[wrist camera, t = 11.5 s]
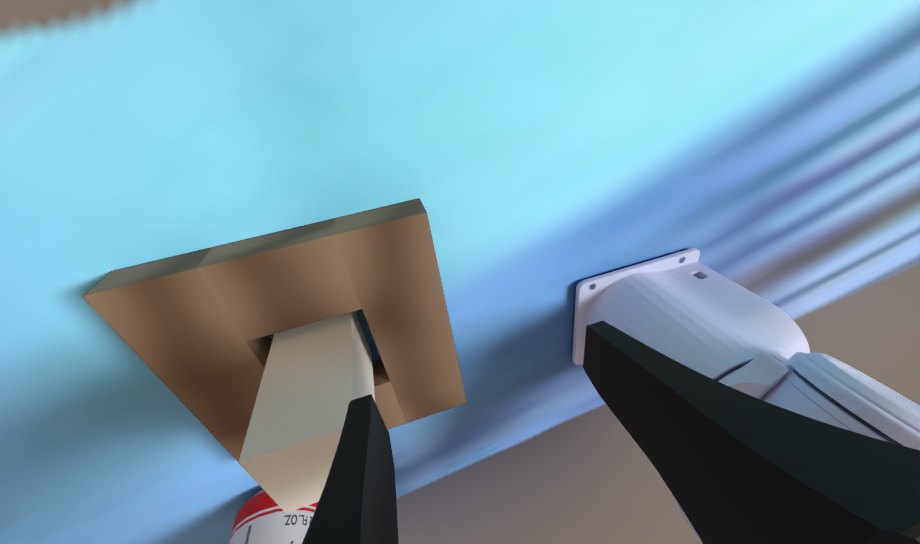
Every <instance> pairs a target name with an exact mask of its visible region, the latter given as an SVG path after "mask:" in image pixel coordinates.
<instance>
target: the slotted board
mask: <svg viewBox="0 0 920 544" xmlns="http://www.w3.org/2000/svg"><path fill="white" fill-rule="evenodd" d="M82 297H83V298H84V299H85V300H86V301H87V302H88V303H89V304H90V305H91V306H92V307H93V308H94V309H95V310H96V311H97V313H98V314H99V315H100V316H101V317H102V318H103V319H104V320H105V321H106V322H107V323H108V324H109V325H110V326H111V327H112V328H113V330H114V331H115V332H116V333H117V334H118V335H119V336H120V337H121V338H122V339H123V340H124V341H125V342H126V343H127V344H128V345H129V346H130V348H131V349H132V350H133V351H134V352H135V353H136V354H137V355H138V356H139V357H140V358H141V359H142V360H143V361H144V362H145V363H146V365H147V366H148V367H149V368H150V369H151V370H152V371H153V372H154V373H155V374H156V375H157V376H158V377H159V378H160V379H161V380H162V381H163V383H164V384H165V385H166V386H167V387H168V388H169V389H170V390H171V391H172V392H173V393H174V394H175V395H176V396H177V397H178V398H179V400H180V401H181V402H182V403H183V404H184V405H185V406H186V407H187V408H188V409H189V410H190V411H191V412H192V413H193V414H194V415H195V416H196V418H197V419H198V420H199V421H200V422H201V423H202V424H203V425H204V426H205V427H206V428H207V429H208V430H209V431H210V432H211V433H212V435H213V436H214V437H215V438H216V439H217V440H218V441H219V442H220V443H221V444H222V445H223V446H224V447H225V448H226V449H227V450H228V452H229V453H230V454H231V455H232V456H233V457H234V458H235V459H236V460H237V461H238V462H239V459H240V455H241V452H242V448H243V445H244V441H245V437H246V434H247V430H248V427H249V423H250V419H251V416H252V412H253V409H254V405H255V401H256V398H257V394H258V391H259V387H260V383H261V380H262V376H263V373H264V369H265V365H266V362H267V358H268V355H269V351H270V347H271V344H272V343H271V341H270V340H269V338H268V336H267V335H271V334H275V333H278V332H282V331H285V330H289V329H293V328H296V327H300V326H303V325H307V324H310V323H314V322H318V321H321V320H325V319H328V318H332V317H336V316H339V315H343V314H346V313H350V312H353V311H357V310H361V309H362V310H363V313H364V315H365V318H366V320H367V323H368V325H369V328H370V331H371V333H372V336H373V338H374V341H375V344H376V346H377V349H378V351H379V354H380V356H381V359H382V360H378V361H375V362H372V366H373V379H374V392H375V403H376V405H377V408H378V410H379V412H380V414H381V416H382V419H383V421H384V423H385V425H386V428H387V429H390V428H393V427H396V426H399V425H402V424H405V423H408V422H411V421H414V420H417V419H420V418H423V417H426V416H429V415H432V414H435V413H438V412H441V411H444V410H447V409H450V408H453V407H456V406H459V405H462V404H465V403H467V401H466V397H465V392H464V387H463V382H462V378H461V373H460V368H459V363H458V359H457V354H456V349H455V344H454V340H453V335H452V330H451V325H450V321H449V316H448V311H447V306H446V302H445V297H444V292H443V287H442V283H441V278H440V273H439V268H438V264H437V259H436V254H435V249H434V245H433V240H432V235H431V230H430V226H429V221H428V216H427V212H426V210H425V208H424V206H423V204H422V203H421V201H420V199H415V200H411V201H406V202H402V203H398V204H394V205H389V206H385V207H381V208H377V209H372V210H368V211H364V212H360V213H355V214H351V215H347V216H343V217H339V218H334V219H330V220H326V221H322V222H317V223H313V224H309V225H305V226H300V227H296V228H292V229H288V230H284V231H279V232H275V233H271V234H267V235H262V236H258V237H254V238H250V239H245V240H241V241H237V242H233V243H228V244H224V245H220V246H216V247H212V248H207V249H203V250H199V251H195V252H190V253H186V254H182V255H178V256H173V257H169V258H165V259H161V260H157V261H152V262H148V263H144V264H140V265H135V266H131V267H127V268H123V269H118V270H114V271H111V272H110V273H109V274H108V275H106V276H105V277H104V278H103V279H102V280H101V281H99V282H98V283H97V284H96V285H95V286H94V287H93V288H91V289H90V290H89V291H88V292H87V293H86V294H84V295H83V296H82Z"/></svg>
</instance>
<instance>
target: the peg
mask: <svg viewBox="0 0 920 544" xmlns="http://www.w3.org/2000/svg"><path fill="white" fill-rule="evenodd" d="M370 394H372V396H373V399H374V401H375V392H374V379H373V366H372V353H371V349H370V347H369V344H368V342H367V339H366V337H365V334H364V332H363V329H362V327H361V324H360V322H359V319H358V317H357V314H356V312H355V311H353V312H350V313H346V314H343V315H339V316H336V317H332V318H328V319H325V320H321V321H318V322H314V323H310V324H307V325H303V326H300V327H296V328H293V329H289V330H285V331H282V332H278V333H275V334H274V337H273V340H272V344H271V347H270V351H269V355H268V358H267V362H266V365H265V369H264V373H263V376H262V380H261V383H260V387H259V391H258V394H257V398H256V401H255V405H254V409H253V412H252V416H251V419H250V423H249V427H248V430H247V434H246V437H245V441H244V445H243V448H242V452H241V455H240V459H239V464H240V465H241V466H242V467H243V468H244V469H245V470H246V471H247V473H248V474H249V475H250V476H251V477H252V478H253V479H254V480H255V481H256V482H257V483H258V484H259V485H260V486H261V487H262V488H263V490H264V491H265V492H266V493H267V494H268V495H269V496H270V497H271V498H272V499H273V500H274V501H275V502H276V503H277V504H278V505H279V507H280V508H281V509H282V510H283V511H284V512H285V513H288V512H291V511H294V510H297V509H300V508H302V507H305V506H308V505H311V504H314V503H316V502H319V499H320V497H321V494H322V491H323V489H324V486H325V483H326V480H327V477H328V474H329V471H330V468H331V465H332V462H333V459H334V456H335V453H336V450H337V447H338V443H339V440H340V436H341V433H342V429H343V426H344V422H345V418H346V414H347V409H348V405H349V403H350V401H351V400H354V399H357V398H360V397H363V396H367V395H370Z"/></svg>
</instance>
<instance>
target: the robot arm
mask: <svg viewBox="0 0 920 544" xmlns="http://www.w3.org/2000/svg"><path fill="white" fill-rule="evenodd" d="M699 256H700V251H699V250H697V249H695V248H691V249H687V250H684V251H681V252H677V253H674V254H671V255H667V256H664V257H660V258H657V259H654V260H650V261H647V262H643V263H640V264H637V265H633V266H630V267H626V268H623V269H620V270H616V271H613V272H609V273H606V274H603V275H599V276H596V277H593V278H589V279H586V280H583V281H581V282H579V283H578V285H577V287H576V299H575V318H574V336H573V354H572V361H573V363H574V364H575V365H582V364H583V368H584V370H585V372H586V374H587V375H588V377H589V379H590V380H591V382H592V384H593V385H594V387H595V389H596V390H597V392H598V393H599V395H600V396H601V398H602V399H603V400H604V402H605V403H606V404H607V405H608V407H609V408H610V409H611V411H612V412H613V413H614V415H615V416H616V417H617V418H618V419H619V421H620V422H621V423H622V425H623V426H624V427H625V429H626V430H627V431H628V432H629V434H630V435H631V436H632V438H633V439H634V440H635V441H636V443H637V444H638V445H639V447H640V448H641V449H642V450H643V452H644V453H645V454H646V456H647V457H648V458H649V460H650V461H651V462H652V464H653V465H654V466H655V468H656V469H657V471H658V472H659V474H660V475H661V477H662V478H663V480H664V481H665V483H666V485H667V486H668V488H669V489H670V491H671V492H672V494H673V496H674V497H675V499H676V500H677V502H678V505H679V508H680V510H681V512H682V514H683V516H684V518H685V519H686V521H687V523H688V524H689V526H690V528H691V529H692V531H693V532H694V533H695V535H696V536H697V538H698V539H699V540H700V542H701V543H702V544H920V406H919V405H917V404H915V403H914V402H912V401H910V400H909V399H907V398H905V397H904V396H902V395H900V394H898V393H897V392H895V391H893V390H892V389H890V388H888V387H886V386H885V385H883V384H881V383H879V382H878V381H876V380H874V379H872V378H871V377H868V376H867V375H865V374H863V373H862V372H860V371H858V370H856V369H854V368H852V367H850V366H849V365H847V364H845V363H843V362H841V361H839V360H837V359H835V358H833V357H831V356H828V355H826V354H823V353H810V350H809V345H808V342H807V340H806V338H805V336H804V334H803V333H802V331H801V330H800V328H799V327H798V326H797V324H796V323H795V322H794V321H793V320H792V319H791V318H790V317H789V316H788V315H787V314H786V313H785V312H783V311H782V310H781V309H780V308H778V307H777V306H775V305H773V304H772V303H770V302H768V301H766V300H765V299H763V298H761V297H759V296H758V295H756V294H754V293H752V292H750V291H749V290H747V289H745V288H743V287H742V286H740V285H738V284H736V283H735V282H733V281H731V280H729V279H727V278H726V277H724V276H722V275H720V274H719V273H717V272H715V271H713V270H711V269H710V268H708V267H706V266H704V265H703V264H701V263H699V262H698V260H699ZM591 284H592V285H591ZM590 285H591V286H590ZM589 286H590V287H589ZM302 544H398V528H397V509H396V489H395V472H394V462H393V456H392V449H391V443H390V437H389V432H388V430H387V428H386V425H385V423H384V421H383V419H382V416H381V414H380V412H379V410H378V408H377V405H376V403H375V401H374V399H373V396H372V394H370V395H367V396H363V397H360V398H357V399H354V400H351V401H350V403H349V405H348V409H347V414H346V418H345V422H344V426H343V429H342V433H341V436H340V440H339V443H338V447H337V450H336V453H335V456H334V459H333V462H332V465H331V468H330V471H329V474H328V477H327V480H326V483H325V486H324V489H323V491H322V494H321V497H320V499H319V502H318V504H317V507H316V510H315V512H314V515H313V518H312V520H311V523H310V525H309V528H308V530H307V532H306V535H305V537H304V540H303V542H302Z"/></svg>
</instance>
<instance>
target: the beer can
mask: <svg viewBox="0 0 920 544" xmlns="http://www.w3.org/2000/svg"><path fill="white" fill-rule="evenodd" d="M317 504H318V502H316V503H314V504H311V505H308V506H305V507H302V508H300V509H297V510H294V511H291V512H288V513H285V512H284V511H283V510H282V509H281V508H280V507H279V505H278V504H277V503H276V502H275V501H274V500H273V499H272V498H271V497H270V496H269V495H268V494H267V493H266V492H265V491H264V490H263V489H261V490H260V491H259V492H257V493H256V494H255V495H254V496H253V497H252V498H250V499H249V500H248V501H247V502H245V503H244V504H243V506H242V508H241V509H240V511H239V513H238V514H237V517H236V520H235V524H234V528H233V532H232V536H231V540H230V544H302V542H303V540H304V537H305V535H306V532H307V530H308V528H309V525H310V523H311V520H312V518H313V515H314V512H315V510H316V507H317Z"/></svg>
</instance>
